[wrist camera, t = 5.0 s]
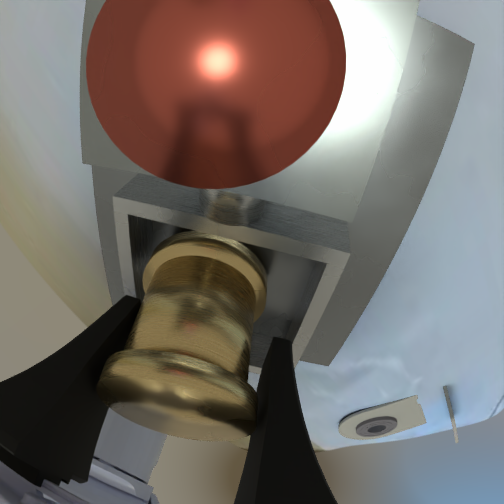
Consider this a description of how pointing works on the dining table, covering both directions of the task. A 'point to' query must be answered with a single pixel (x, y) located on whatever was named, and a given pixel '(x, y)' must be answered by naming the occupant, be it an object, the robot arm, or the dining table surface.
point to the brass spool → (191, 342)
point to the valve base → (334, 165)
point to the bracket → (388, 419)
